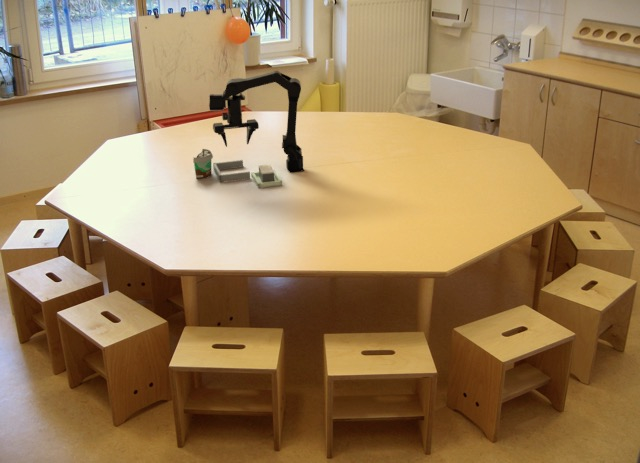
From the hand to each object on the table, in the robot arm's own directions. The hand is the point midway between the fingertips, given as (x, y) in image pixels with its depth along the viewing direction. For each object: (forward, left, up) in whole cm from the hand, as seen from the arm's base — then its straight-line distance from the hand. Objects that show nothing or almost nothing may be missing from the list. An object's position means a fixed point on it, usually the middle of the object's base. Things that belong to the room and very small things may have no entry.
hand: (236, 145), depth 327 cm
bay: (+3, +2, -12) cm, 13 cm away
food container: (+14, 0, -12) cm, 19 cm away
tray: (-9, +15, -12) cm, 21 cm away
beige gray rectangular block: (-9, +15, -11) cm, 21 cm away
